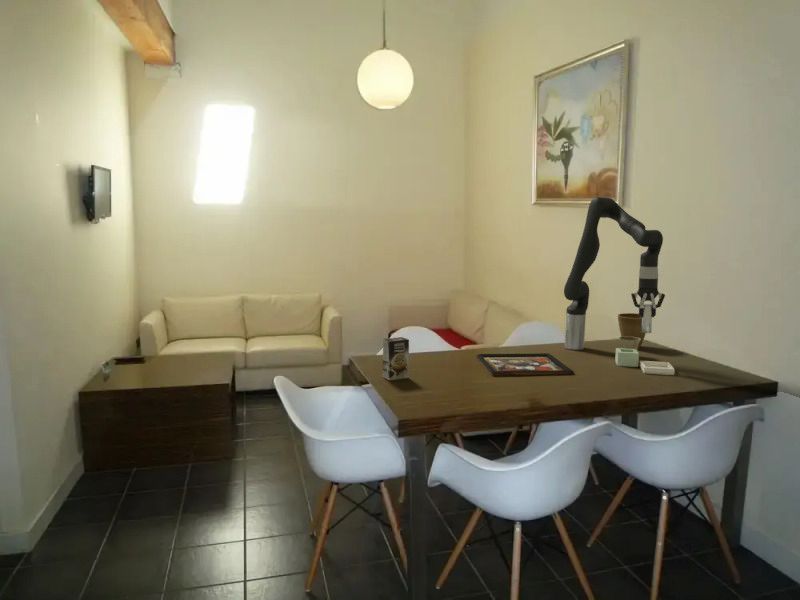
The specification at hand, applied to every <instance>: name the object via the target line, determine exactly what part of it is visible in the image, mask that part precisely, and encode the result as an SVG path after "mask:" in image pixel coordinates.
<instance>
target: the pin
mask: <svg viewBox="0 0 800 600" xmlns="http://www.w3.org/2000/svg"><path fill="white" fill-rule="evenodd" d="M642 309H643V317H642V333H646V334H652V331H653V330H652V328H653V326H652V325H653V324H652V323H653V317H652V304H649V303H644V304H643V307H642Z"/></svg>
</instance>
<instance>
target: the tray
mask: <svg viewBox="0 0 800 600" xmlns="http://www.w3.org/2000/svg"><path fill="white" fill-rule="evenodd" d="M638 367H639V368H640V370H641V371H642V373H643V374H648V375H665V376H675V372H676V371H675V368H674V366H673V365H672V364H671V363H670V362H668V361H653V360H652V361H650V360H639V362H638Z"/></svg>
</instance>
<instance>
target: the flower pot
mask: <svg viewBox="0 0 800 600" xmlns="http://www.w3.org/2000/svg"><path fill="white" fill-rule="evenodd" d="M618 338H619V341H620V348H625V349H636V350H637V351H638V350H639V348H638V344H639V342H640V340H641V339H640V338H637V337H630V336H622V337H621V336H620V337H618Z"/></svg>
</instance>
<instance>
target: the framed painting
mask: <svg viewBox="0 0 800 600" xmlns="http://www.w3.org/2000/svg"><path fill="white" fill-rule="evenodd" d="M476 359H477V360H478V363H480V365H482V366H483V368H484V369H485V370H486V371H487V372H488V373H489V375H490V376H491V377H523V376H525V377H526V376H560V375H561V376H564V375H565V376H569V375H574V373H575V372H574V370H573V369H572V368H570V367H568V366H567V365H566V364H564V363H563V362H561V360H559V359H557V358H556V357H555V356H553V355H552V354H550V353H547V352H546V353H545V352H544V353H541V352H540V353H538V352H537V353H479V354H476Z"/></svg>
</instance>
